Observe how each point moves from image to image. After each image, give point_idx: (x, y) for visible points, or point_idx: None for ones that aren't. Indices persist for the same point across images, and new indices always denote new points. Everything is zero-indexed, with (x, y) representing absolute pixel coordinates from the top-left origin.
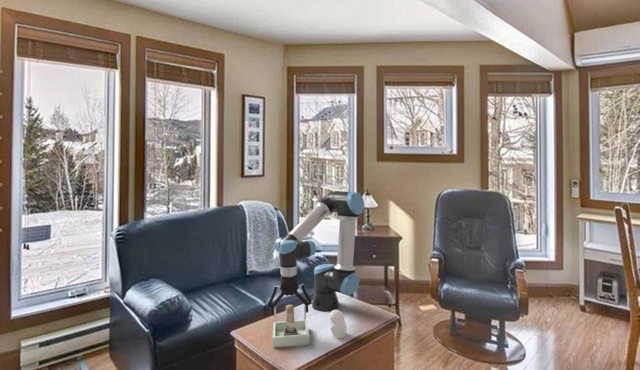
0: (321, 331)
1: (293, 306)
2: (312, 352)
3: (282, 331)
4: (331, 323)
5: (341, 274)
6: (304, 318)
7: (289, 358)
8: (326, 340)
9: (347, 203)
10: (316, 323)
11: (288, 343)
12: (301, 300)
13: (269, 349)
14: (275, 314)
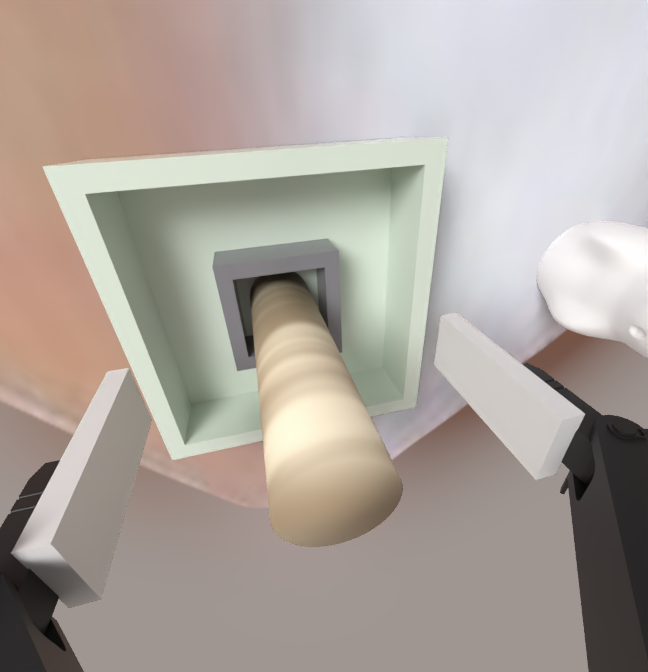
0: (495, 198)
1: (398, 497)
2: (395, 425)
3: (192, 214)
4: (604, 302)
5: None
6: (445, 375)
7: None
8: (485, 320)
9: None
10: (506, 5)
11: None
12: (589, 590)
13: None
14: (122, 500)
